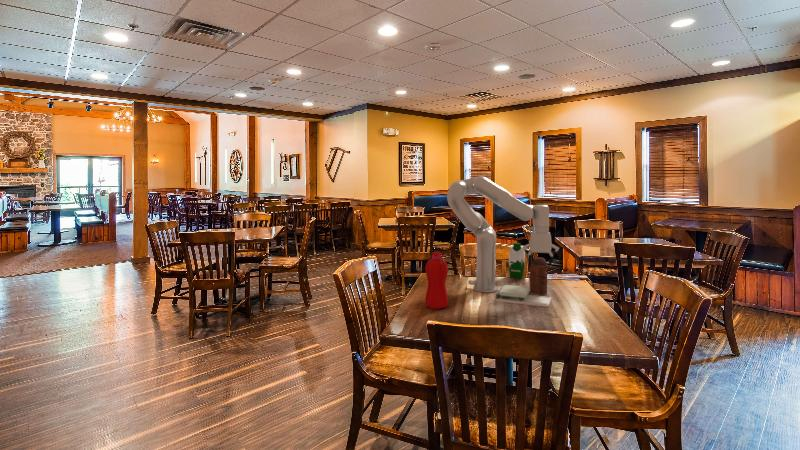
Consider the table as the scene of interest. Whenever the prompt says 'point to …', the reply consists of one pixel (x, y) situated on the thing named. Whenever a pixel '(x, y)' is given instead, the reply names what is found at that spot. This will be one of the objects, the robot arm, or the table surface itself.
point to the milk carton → (516, 261)
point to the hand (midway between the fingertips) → (540, 263)
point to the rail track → (525, 300)
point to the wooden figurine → (538, 276)
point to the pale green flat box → (514, 291)
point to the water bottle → (436, 282)
